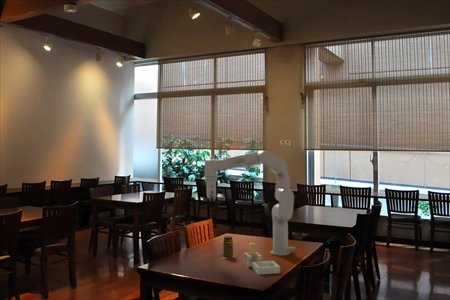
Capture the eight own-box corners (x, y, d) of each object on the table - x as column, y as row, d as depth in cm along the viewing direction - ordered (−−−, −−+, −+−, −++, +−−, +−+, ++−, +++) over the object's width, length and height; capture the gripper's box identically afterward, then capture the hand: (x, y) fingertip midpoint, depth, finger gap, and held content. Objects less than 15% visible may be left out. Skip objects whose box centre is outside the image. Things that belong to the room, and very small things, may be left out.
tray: (273, 267, 223) (273, 260, 223) (280, 273, 211) (279, 266, 211) (252, 268, 220) (252, 261, 221) (258, 274, 209) (258, 267, 209)
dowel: (255, 263, 230) (254, 243, 230) (256, 265, 226) (256, 244, 226) (249, 264, 229) (248, 243, 229) (250, 265, 226) (250, 244, 226)
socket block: (257, 262, 232) (257, 252, 233) (261, 266, 225) (261, 255, 225) (244, 263, 231) (244, 252, 231) (247, 267, 223) (247, 256, 223)
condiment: (235, 256, 247) (235, 237, 247) (224, 258, 242) (224, 239, 242) (229, 254, 253) (229, 235, 253) (218, 256, 248) (217, 237, 248)
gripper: (219, 179, 238) (219, 208, 238) (214, 178, 255) (214, 205, 255) (206, 180, 237) (206, 208, 237) (203, 178, 254) (203, 205, 254)
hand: (210, 206), depth 246 cm, fingers open, 9 cm apart
